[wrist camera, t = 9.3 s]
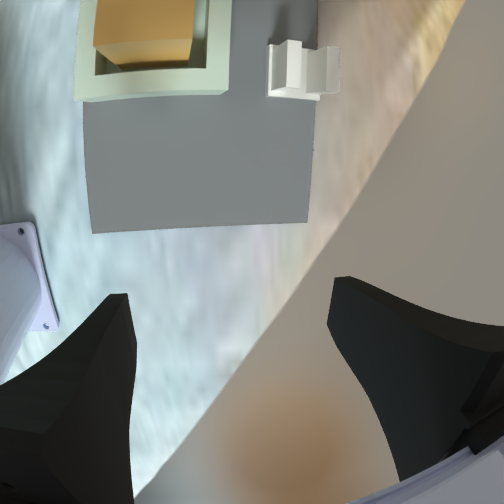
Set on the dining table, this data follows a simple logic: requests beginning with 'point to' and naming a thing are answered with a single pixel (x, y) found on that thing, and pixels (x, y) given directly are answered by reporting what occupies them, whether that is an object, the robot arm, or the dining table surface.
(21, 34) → the dining table surface
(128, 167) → the mat
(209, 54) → the end holder
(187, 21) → the connector plug
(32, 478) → the robot arm
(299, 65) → the cable clip
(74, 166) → the dining table surface
